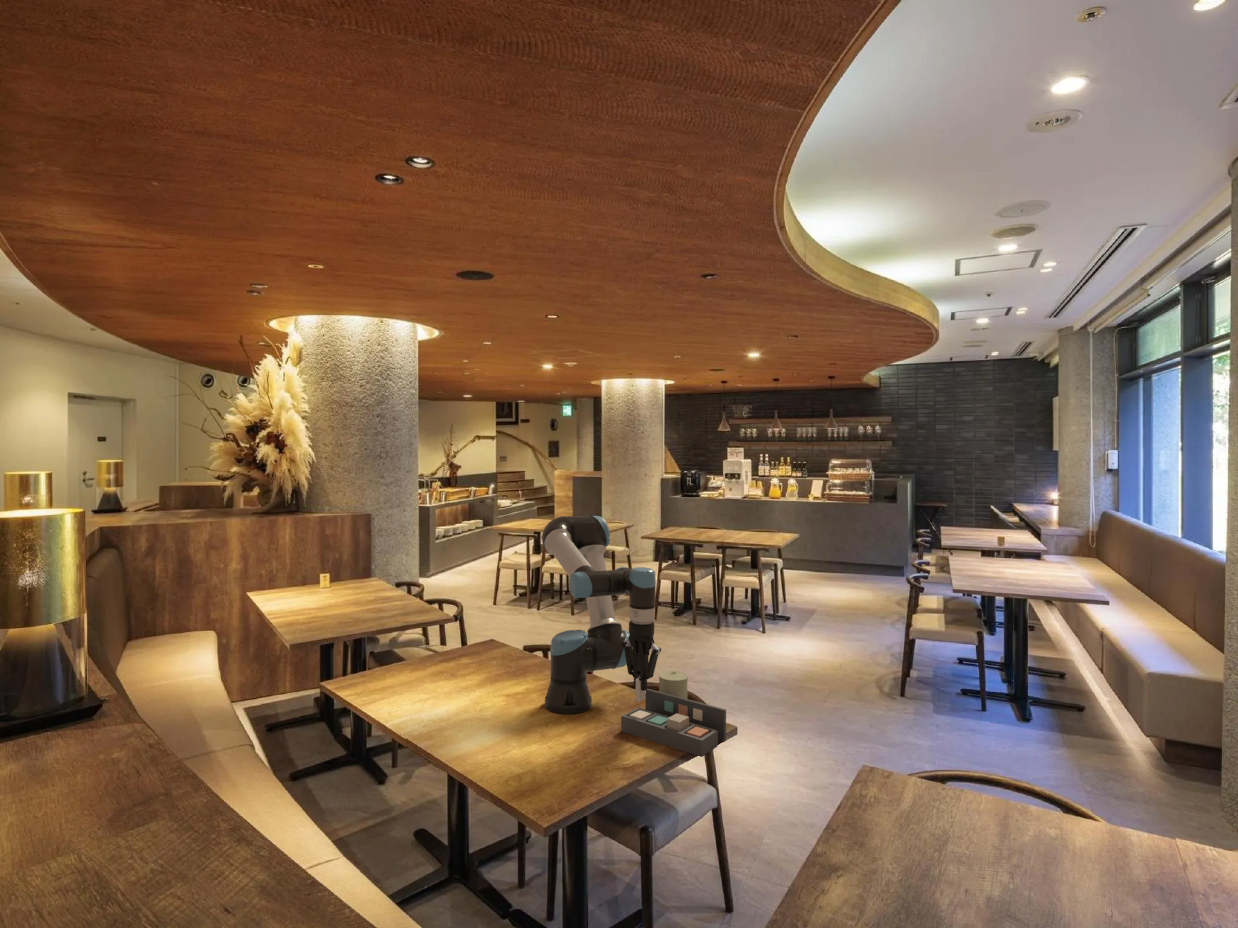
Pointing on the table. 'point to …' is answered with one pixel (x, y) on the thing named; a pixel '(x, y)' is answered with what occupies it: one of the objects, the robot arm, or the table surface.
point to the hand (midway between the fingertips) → (639, 699)
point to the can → (673, 683)
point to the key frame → (669, 734)
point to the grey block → (678, 722)
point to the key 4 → (698, 732)
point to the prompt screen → (688, 710)
